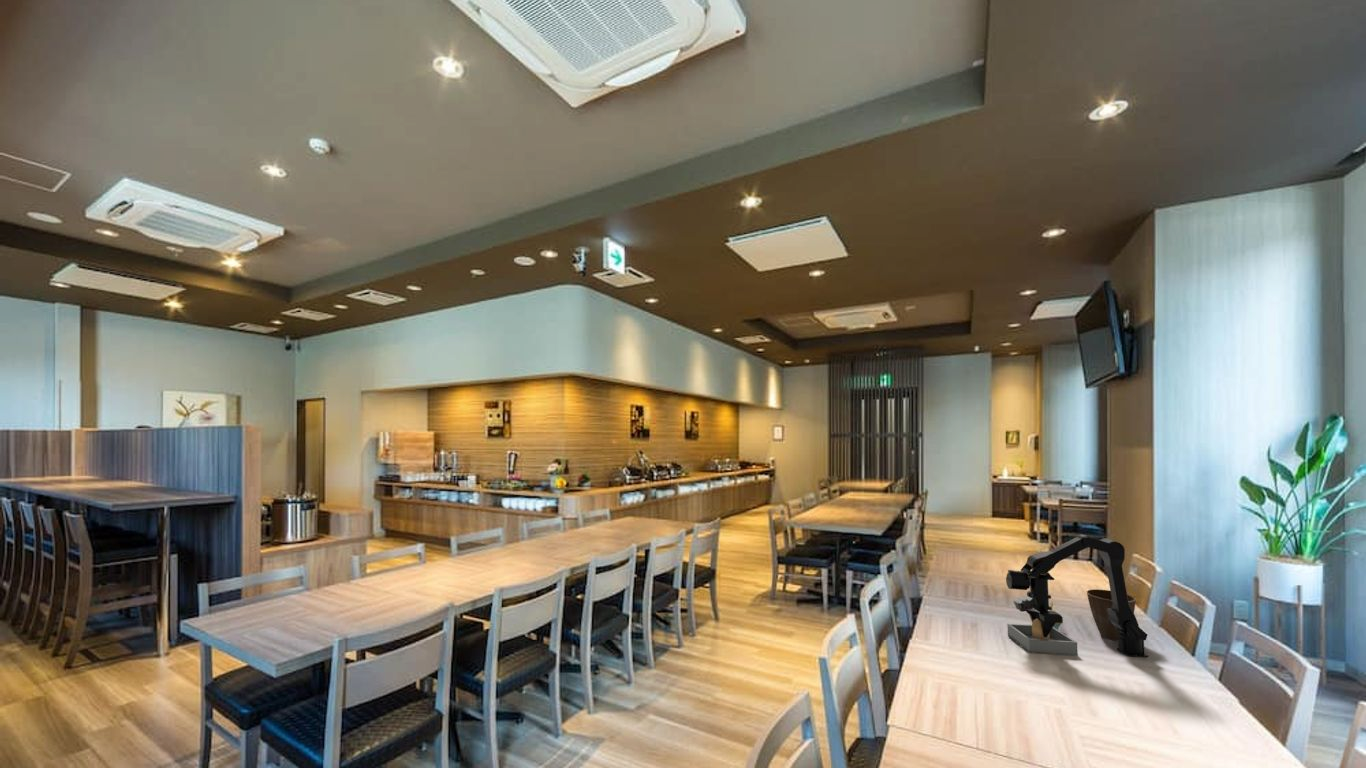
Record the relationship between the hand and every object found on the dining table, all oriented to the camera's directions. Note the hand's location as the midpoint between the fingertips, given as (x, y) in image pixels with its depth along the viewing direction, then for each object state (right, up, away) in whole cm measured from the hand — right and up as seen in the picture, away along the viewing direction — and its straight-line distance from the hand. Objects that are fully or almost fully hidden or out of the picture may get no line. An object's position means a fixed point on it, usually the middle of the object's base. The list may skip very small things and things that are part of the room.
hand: (1040, 634), depth 200 cm
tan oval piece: (0, -1, 0) cm, 1 cm away
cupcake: (+14, -6, +15) cm, 21 cm away
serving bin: (0, -4, 0) cm, 4 cm away
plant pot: (+33, -5, +8) cm, 34 cm away
